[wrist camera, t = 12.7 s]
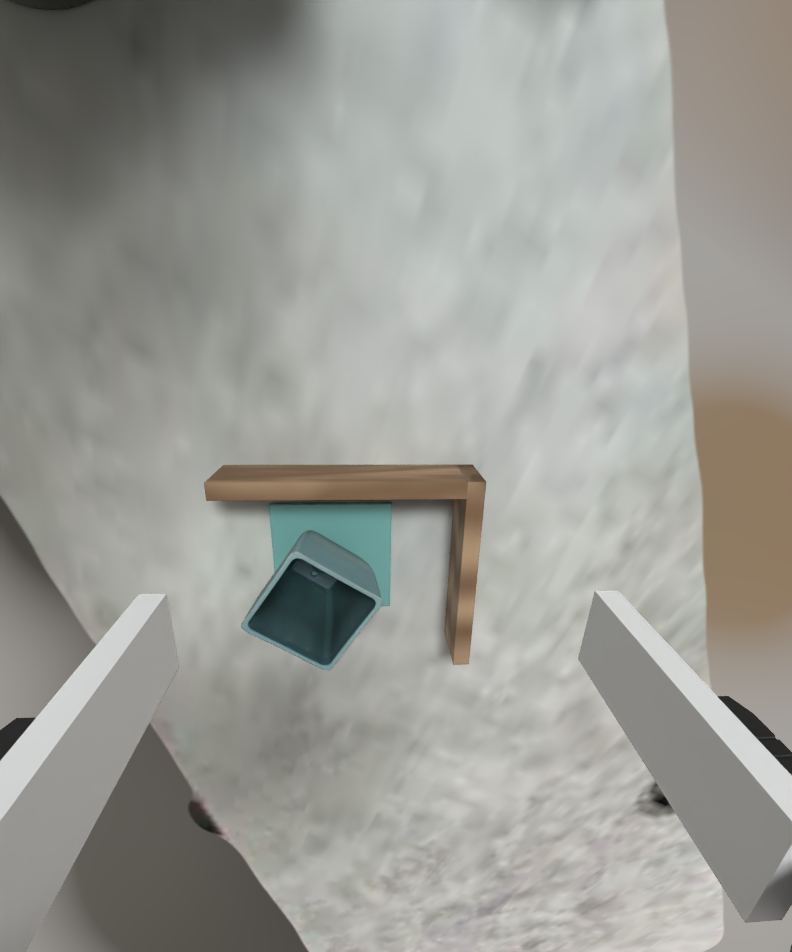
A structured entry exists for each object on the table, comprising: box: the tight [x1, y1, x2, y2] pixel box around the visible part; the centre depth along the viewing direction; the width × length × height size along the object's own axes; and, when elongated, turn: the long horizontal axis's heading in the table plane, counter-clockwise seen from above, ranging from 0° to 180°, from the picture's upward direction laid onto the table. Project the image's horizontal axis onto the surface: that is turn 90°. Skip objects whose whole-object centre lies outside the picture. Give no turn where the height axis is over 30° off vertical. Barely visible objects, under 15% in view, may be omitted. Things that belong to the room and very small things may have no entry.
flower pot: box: [241, 530, 383, 670], centre depth 38 cm, size 9×9×9 cm
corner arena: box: [204, 465, 486, 665], centre depth 41 cm, size 20×24×5 cm
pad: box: [269, 503, 391, 606], centre depth 43 cm, size 12×12×1 cm
